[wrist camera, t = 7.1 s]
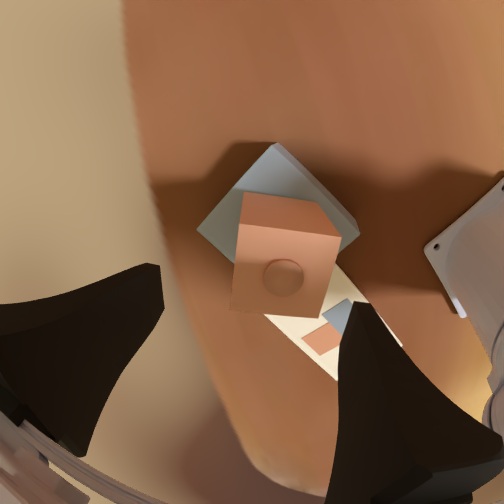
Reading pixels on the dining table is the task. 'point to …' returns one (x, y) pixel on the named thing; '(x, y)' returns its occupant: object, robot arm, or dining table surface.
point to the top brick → (283, 256)
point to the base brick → (277, 184)
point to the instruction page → (325, 323)
